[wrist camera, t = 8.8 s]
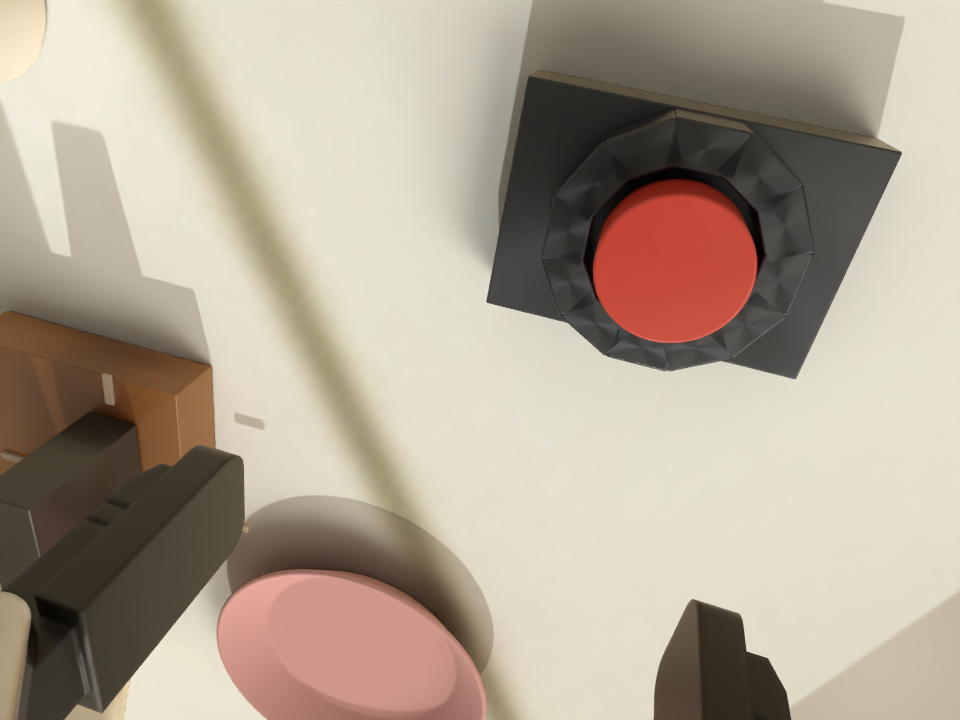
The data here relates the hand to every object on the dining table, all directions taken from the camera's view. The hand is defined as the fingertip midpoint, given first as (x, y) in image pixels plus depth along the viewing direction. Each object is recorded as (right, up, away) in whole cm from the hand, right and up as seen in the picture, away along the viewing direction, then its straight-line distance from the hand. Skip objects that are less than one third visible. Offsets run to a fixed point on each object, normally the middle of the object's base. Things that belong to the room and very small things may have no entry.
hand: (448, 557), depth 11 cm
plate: (-6, -12, +24) cm, 27 cm away
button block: (+7, +8, +10) cm, 14 cm away
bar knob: (-15, -2, +18) cm, 24 cm away
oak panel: (-15, -1, +20) cm, 25 cm away
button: (+6, +6, +7) cm, 11 cm away
